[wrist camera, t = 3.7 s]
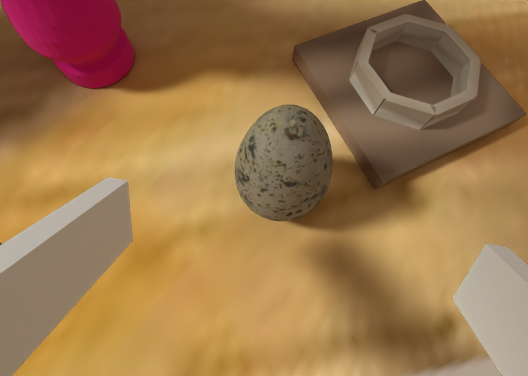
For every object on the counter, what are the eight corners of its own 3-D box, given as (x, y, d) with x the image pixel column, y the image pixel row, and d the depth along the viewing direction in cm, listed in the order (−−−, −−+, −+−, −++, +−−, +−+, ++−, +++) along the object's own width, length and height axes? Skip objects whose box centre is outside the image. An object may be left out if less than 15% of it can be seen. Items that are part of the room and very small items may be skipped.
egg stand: (292, 59, 26) (297, 25, 22) (415, 13, 28) (437, -23, 25) (374, 189, 22) (396, 171, 18) (510, 124, 24) (551, 98, 21)
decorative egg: (328, 179, 22) (384, 100, 12) (293, 245, 20) (325, 211, 11) (263, 144, 23) (269, 45, 13) (223, 205, 21) (197, 140, 12)
